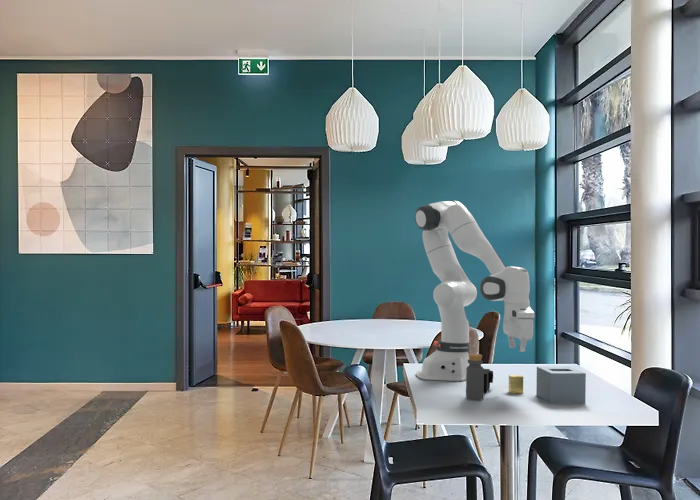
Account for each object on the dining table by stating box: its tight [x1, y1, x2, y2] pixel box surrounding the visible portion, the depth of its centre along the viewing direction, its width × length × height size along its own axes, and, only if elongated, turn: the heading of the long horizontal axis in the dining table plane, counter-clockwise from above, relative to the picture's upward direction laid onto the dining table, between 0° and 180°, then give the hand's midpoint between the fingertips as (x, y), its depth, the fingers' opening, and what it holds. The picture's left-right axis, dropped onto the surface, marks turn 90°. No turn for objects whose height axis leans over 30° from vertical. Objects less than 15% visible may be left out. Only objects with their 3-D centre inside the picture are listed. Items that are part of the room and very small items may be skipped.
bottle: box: [465, 353, 485, 402], centre depth 200 cm, size 6×6×15 cm
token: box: [508, 374, 524, 394], centre depth 211 cm, size 4×2×6 cm, turn 95°
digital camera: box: [483, 368, 494, 394], centre depth 214 cm, size 10×5×7 cm, turn 160°
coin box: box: [536, 366, 587, 404], centre depth 202 cm, size 12×12×10 cm
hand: (517, 349), depth 211 cm, fingers open, 8 cm apart
